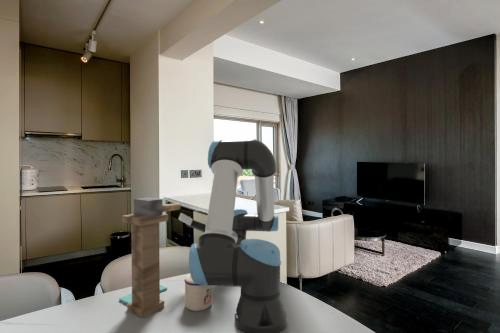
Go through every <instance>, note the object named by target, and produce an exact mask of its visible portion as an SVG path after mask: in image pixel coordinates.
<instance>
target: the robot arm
mask: <svg viewBox="0 0 500 333" xmlns="http://www.w3.org/2000/svg"><path fill="white" fill-rule="evenodd" d="M208 148H209V149H208V151H207V152H208V153H207V164H208V167H209V169H210V170H211V173H212V174H213V179H212V186H211V192H210V193H211V194H210V199H209V204H208V210H207V216H205V218H204V221H203V223H202V222H200V221H196V220H195V219H193V218H191V217H190V216H188V215H187V214H185V213H183V212H180V214H179V216H178V220H179V221H180V222H183V223H185V225H186V226H187V228H192V229H194V230H197V231H200V232H202V233H201V234H200V235H199V236H198V239H197V240H198V241H197V242H196V243H192V244H191V245H190V247H189V253H188V268H189V274H190V275H191V278H192V280H193V282H194V283H196V284H199V285H207V286H209V285H212V287H213V286H215V287H216V286H217V287H237V288H238V287H239V288H240V296H239V299H238V303H237V305H236V306H237V307H236V309H235V312H234V325H235V327H236V328H237V329H238V330H239V331H240V332H242V333H280V332H282V331H284V329H285V328H286V325H287V312H286V311H285V306H284V303H283V300H282V297H281V265H282V260H281V251H280V248H279V246H277V244H275V243H273V242H271V241H269V240H264V239H259V238H250V239H249V238H247V232H269V233H270V232H278V230H279V215H277V214H275V197H274V196H275V191H274V190H275V189H274V187H275V186H274V184H275V182H274V175H275V174H276V173H277V172H276V171H277V164H276V159H275V157H274V155H273V153H272V151H271V150H270V148H269V147H268V146H267V145H266V144H265V143H264V142H263V141H260V140H258V139H255V138H220V139H219V138H218V139H214V140H213V141H211V143H210V144H209V147H208ZM243 170H251V173H252V175H253V176H254V186H255V200H256V214H250V213H248V211H247V209H246V210H245V209H242V208H236V209H235V207H236V197H237V188H238V179H239V177H241V176H242V174H243V172H244V171H243Z"/></svg>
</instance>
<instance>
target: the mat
mask: <svg viewBox="0 0 500 333" xmlns="http://www.w3.org/2000/svg"><path fill="white" fill-rule="evenodd" d="M167 290H168V287H166V286H164V285H162V284H160V294H161V293H162V292H165V291H167ZM119 302H121V303H123V304H125V305H127V304H128V303H130V302H132V293H130V294H127V295H125V296H122V297H120V298H119Z"/></svg>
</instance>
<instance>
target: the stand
mask: <svg viewBox="0 0 500 333" xmlns="http://www.w3.org/2000/svg"><path fill="white" fill-rule="evenodd" d="M168 221H169V214H168V213H164V212H162V215H158V216H152V217H146V216H140V215H134V213H129V214H123V215H121V223H125V224H129V225H131V230H130V231H131V232H130V233H131V294H132V302H130V303H128V304H126V305H127V306H126V307H127V308H126V310H127V311H128V312H129V313H132V314H134V315H135V316H138V317H140V318H145V317H147V316H149V315H151V314H154V313H156V312H157V311H160V310H162V309H164V308H165V300H162V299H160V298H161V297H160V295H161V293H160V285H161V284H160V283H161V282H160V279H161V278H160V275H161V274H160V223H162V222H168Z"/></svg>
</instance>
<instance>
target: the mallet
mask: <svg viewBox="0 0 500 333" xmlns="http://www.w3.org/2000/svg"><path fill="white" fill-rule="evenodd" d="M181 207H182V205H181V203H180V202H175V203H174V202H173V203H168V204H163V198H154V197H147V196H146V197H140V198H133V214H134V215H140V216H146V217H152V216H158V215H162V213H167V212H172V211H179V210H180V209H181Z"/></svg>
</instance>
